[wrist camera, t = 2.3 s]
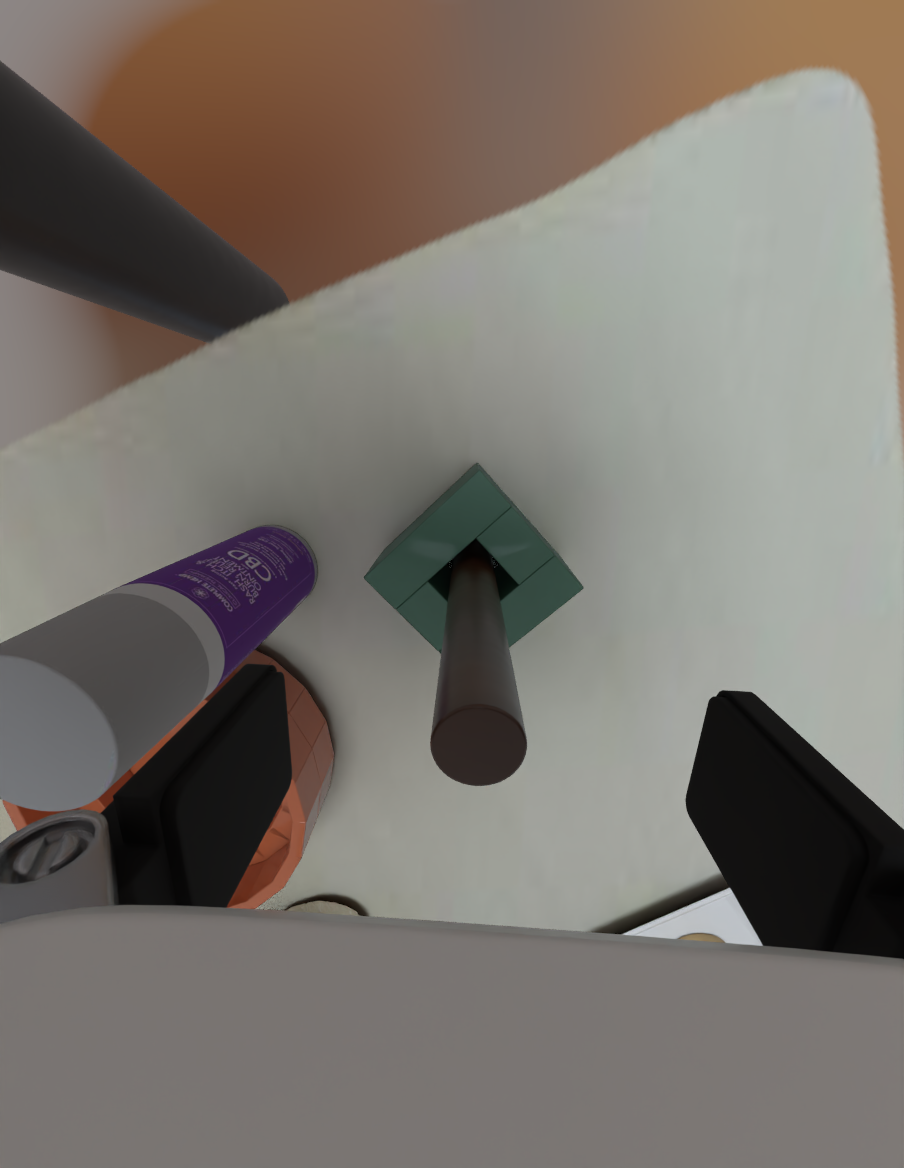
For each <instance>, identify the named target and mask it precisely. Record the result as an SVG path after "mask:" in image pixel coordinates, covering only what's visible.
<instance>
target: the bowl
mask: <svg viewBox="0 0 904 1168" xmlns="http://www.w3.org/2000/svg"><path fill="white" fill-rule="evenodd" d="M246 664H265V665H274V666H275V667H276V669H277V672H282V673H283V674H284V678H285V689H286V702H287V714H288V726H289V738H290V751H291V763H292V780H291V784H290V787H289V790H288V792H287V794H286V796H285V797H284V799H283V801H282V803H281V805H280V807H279V809H278V811H277V813H276V815H275V816H274V818H273V820H272V822H271V824H270V826H269V828H268V830H267V832H266V833H265V835H264V837H263V839H262V841H261V843H260V845H259V847H258V849H257V851H256V852H255V854H254V856H253V858H252V860H251V862H250V864H249V866H248V868H247V870H246V871H245V873H244V875H243V877H242V879H241V881H240V883H239V885H238V887H237V889H236V890H235V892H234V894H233V896H232V898H231V900H230V902H229V904H228V906H227V907H226V908H240V909H256V908H257V907H258V906H260V905H261V904H262V903H264V902H265V901H266V900H268V899H269V898H270V897H272V896H273V895H274V894H276V893H277V892H278V891H280V890H281V889H282V888H284V887H285V885H286V883H287V882H288V880H289V878H290V877H291V875H292V873H293V872H294V870H295V868H296V867H297V865H298V863H299V862H300V860H301V858H302V856H303V853H304V851H305V848H306V845H307V843H308V840H309V838H310V835H311V833H312V830H313V828H314V825H315V823H316V820H317V817H318V815H319V812H320V810H321V807H322V805H323V802H324V800H325V797H326V795H327V792H328V790H329V787H330V782H331V775H332V768H333V760H334V751H333V747H332V743H331V738H330V734H329V730H328V726H327V722H326V720H325V718H324V716H323V715H322V713H321V712H320V710H319V708H318V707H317V705H316V704H315V702H314V700H313V699H312V697H311V696H310V694H309V692H308V691H307V689H306V688H305V687H304V686H303V685H302V684H301V683H300V682H299V681H298V680H297V679H295V678H294V677H293V676H292V675H291V674H290V673H289V672H287V671H286V670H285V669H284V668H283V667H282V666H281V665H280V664H278V663H277V662H276V661H275V660H273V659H272V658H270V657H268V656H266V655H264V654H262V653H260V652H258V651H256V650H254V651H253V652H252V653H251V654H250V655H249V656H248V657H247V658H246V659H245V660H244V661H243V662H242V663H241V664H240V665H239V666H238V667H237V668H236V669H235V670H234V671H233V672H232V673H231V674H230V675H229V676H228V677H227V678H226V679H225V680H224V681H223V682H222V683H221V684H220V685H219V686H218V687H217V688H216V689H215V690H214V691H213V692H212V693H211V694H210V695H208V696H207V697H206V698H205V699H204V700H203V701H202V702H201V703H200V704H199V705H198V706H197V707H195V708H194V709H193V710H192V711H191V712H190V713H189V714H188V715H187V716H186V717H185V718H184V719H183V720H182V721H180V722H179V723H178V724H177V725H176V726H175V727H174V728H173V729H172V730H171V731H170V732H169V733H168V734H167V735H166V736H164V737H163V738H162V739H161V740H160V741H159V742H158V743H157V744H156V745H155V746H154V747H153V748H152V749H151V750H150V751H148V752H147V753H146V754H145V755H144V756H143V757H142V758H141V759H140V760H139V761H138V762H137V763H136V764H135V765H133V766H132V767H131V768H130V769H129V770H128V771H127V772H126V773H125V774H124V775H123V776H122V777H121V778H120V779H119V780H117V781H116V782H115V783H114V784H113V785H112V786H111V787H110V788H109V789H108V790H107V791H106V792H105V793H104V794H102V795H101V796H100V797H99V798H98V799H96V800H95V801H93V802H91V803H89V804H87V805H85V806H82V807H79V808H76V809H71V810H81V809H85V810H92V811H97V812H98V813H101V812H102V811H103V810H104V809H105V808H106V807H107V806H108V805H109V804H110V803H111V802H112V801H113V795H114V794H115V793H116V792H117V791H118V790H119V789H120V788H121V787H122V786H123V785H124V784H125V783H126V782H127V781H128V780H129V779H130V778H131V777H132V776H133V775H134V774H135V773H136V772H137V771H138V770H139V769H140V768H141V767H142V766H143V765H144V764H145V763H146V762H147V761H148V760H149V759H150V758H151V757H153V756H154V755H155V754H156V753H157V752H158V751H159V750H160V749H161V748H162V747H163V746H164V745H165V744H166V743H167V742H168V741H169V740H170V739H171V738H172V737H173V736H174V735H175V734H176V733H177V732H178V731H179V730H180V729H181V728H182V727H183V726H184V725H185V724H186V723H187V722H188V721H189V720H190V719H191V718H192V717H193V716H194V715H195V714H196V713H197V712H198V711H199V710H200V709H201V708H202V707H203V706H204V705H205V704H206V703H207V702H208V701H209V700H210V699H211V698H212V697H213V696H214V695H215V694H216V693H217V692H218V691H219V690H220V689H221V688H222V687H223V686H224V685H225V684H226V683H227V682H228V681H229V680H230V679H231V678H232V677H233V676H234V675H235V674H236V673H237V672H238V671H239V670H240V669H241V668H242V667H243V666H244V665H246ZM3 804H4V807H5V809H6V811H7V813H8V814H9V816H10V818H11V820H12V822H13V824H14V826H15V828H16V830H17V831H18V830H20V829H22V828H23V827H25V826H27V825H29V824H31V823H33V822H35V821H38V820H40V819H42V818H45V817H47V816H50V815H54V814H57V813H61V812H65V811H40V810H34V809H29V808H24V807H21V806H18V805H15V804H12V803H9V802H7V801H5V800H3ZM71 810H66V811H71Z"/></svg>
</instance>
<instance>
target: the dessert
mask: <svg viewBox="0 0 904 1168" xmlns="http://www.w3.org/2000/svg"><path fill="white" fill-rule="evenodd" d="M620 935H633V936H646V937H658V938H671V939H683V940H696V941H708V942H721V943H733V944H746V945H758V946H763V945H762V943H761V941H760V940H759V938H758V936H757V934H756V933H755V931H754V929H753V927H752V926H751V924H750V922H749V920H748V919H747V917H746V915H745V913H744V912H743V910H742V908H741V906H740V904H739V903H738V901H737V899H736V897H735V896H734V894H733V892H732V890H731V889H730V887H729V888H727V889H725V890H722V891H720V892H718V893H715V894H713V895H711V896H708V897H706V898H704V899H701V900H699V901H697V902H694V903H692V904H690V905H687V906H685V907H683V908H681V909H678V910H676V911H674V912H671V913H669V914H667V915H664V916H662V917H660V918H657V919H655V920H653V921H650V922H648V923H646V924H643V925H641V926H639V927H636V928H634V929H632V930H629V931H627V932H625V933H623V934H620Z"/></svg>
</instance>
